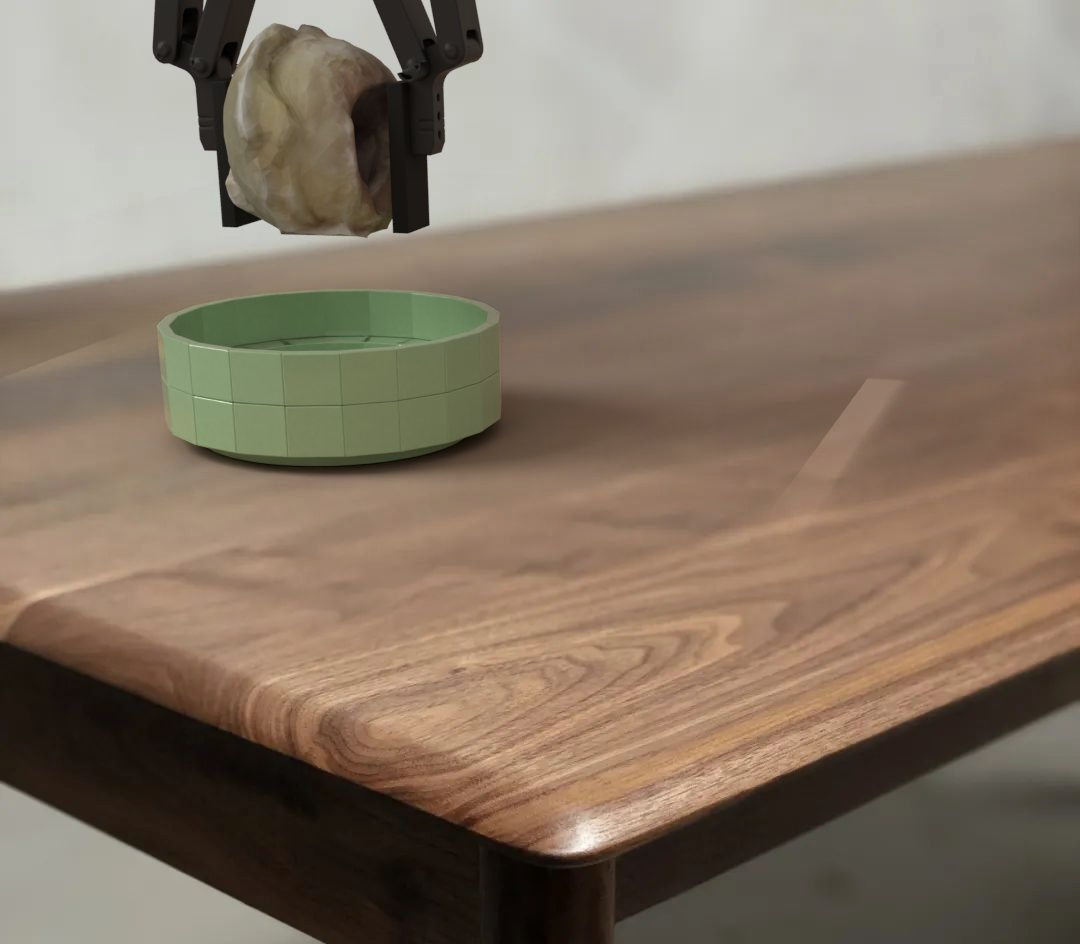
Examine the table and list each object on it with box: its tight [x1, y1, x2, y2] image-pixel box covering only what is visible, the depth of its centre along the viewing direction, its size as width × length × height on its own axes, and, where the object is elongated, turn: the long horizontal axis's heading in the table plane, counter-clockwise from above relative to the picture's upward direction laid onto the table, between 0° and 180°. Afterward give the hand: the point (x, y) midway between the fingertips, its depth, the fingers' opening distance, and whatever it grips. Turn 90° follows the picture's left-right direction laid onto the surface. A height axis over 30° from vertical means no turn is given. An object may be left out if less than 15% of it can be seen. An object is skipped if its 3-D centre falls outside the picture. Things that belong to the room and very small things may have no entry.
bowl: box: [156, 288, 503, 467], centre depth 89 cm, size 16×16×6 cm
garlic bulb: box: [223, 22, 398, 239], centre depth 85 cm, size 9×8×10 cm
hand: (325, 225), depth 87 cm, fingers closed on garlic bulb, 8 cm apart
